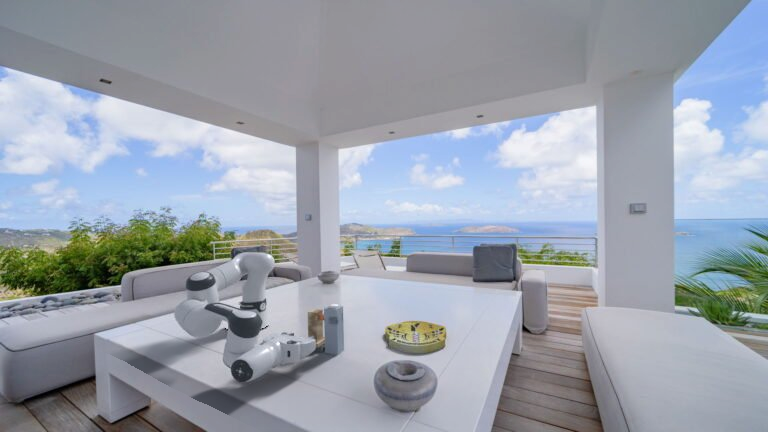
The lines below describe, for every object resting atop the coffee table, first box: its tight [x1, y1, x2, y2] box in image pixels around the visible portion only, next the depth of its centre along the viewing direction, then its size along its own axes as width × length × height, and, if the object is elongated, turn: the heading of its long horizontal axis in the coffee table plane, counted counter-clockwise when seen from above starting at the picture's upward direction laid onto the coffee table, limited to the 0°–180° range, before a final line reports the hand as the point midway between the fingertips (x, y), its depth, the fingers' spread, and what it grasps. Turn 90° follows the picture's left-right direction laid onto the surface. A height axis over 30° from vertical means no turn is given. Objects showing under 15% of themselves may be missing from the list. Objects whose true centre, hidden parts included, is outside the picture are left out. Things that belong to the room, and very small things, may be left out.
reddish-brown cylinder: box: [318, 313, 324, 321], centre depth 122 cm, size 6×2×2 cm, turn 69°
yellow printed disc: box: [385, 320, 447, 354], centre depth 131 cm, size 28×3×30 cm
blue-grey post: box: [323, 303, 345, 356], centre depth 120 cm, size 6×5×19 cm
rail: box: [280, 331, 325, 354], centre depth 126 cm, size 24×5×4 cm, turn 69°
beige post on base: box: [307, 308, 325, 347], centre depth 124 cm, size 7×7×14 cm
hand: (302, 336), depth 115 cm, fingers open, 8 cm apart
